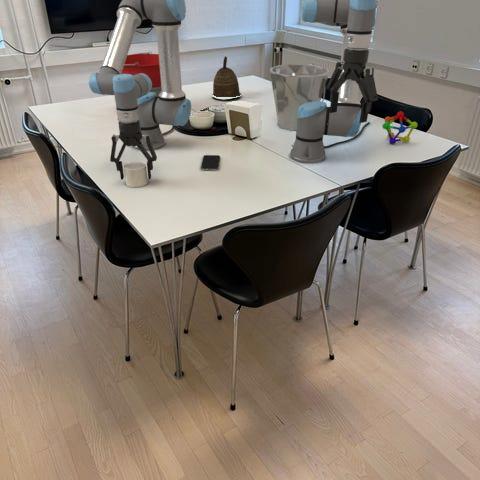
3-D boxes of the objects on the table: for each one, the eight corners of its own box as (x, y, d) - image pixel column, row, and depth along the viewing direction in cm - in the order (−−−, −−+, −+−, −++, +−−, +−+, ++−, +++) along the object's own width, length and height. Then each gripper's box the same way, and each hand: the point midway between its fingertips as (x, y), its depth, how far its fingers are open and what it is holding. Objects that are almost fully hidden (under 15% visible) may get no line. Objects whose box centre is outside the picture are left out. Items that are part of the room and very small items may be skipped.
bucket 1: (125, 104, 265) (117, 50, 249) (183, 105, 264) (179, 51, 248) (108, 122, 236) (99, 62, 220) (174, 123, 235) (169, 63, 219)
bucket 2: (296, 138, 215) (301, 78, 201) (255, 124, 234) (256, 68, 219) (335, 125, 232) (342, 70, 217) (294, 113, 251) (297, 61, 236)
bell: (227, 105, 294) (202, 96, 282) (238, 66, 289) (213, 55, 277) (243, 108, 280) (217, 98, 268) (255, 66, 275) (229, 55, 263)
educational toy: (377, 146, 209) (379, 114, 202) (384, 138, 219) (386, 107, 211) (411, 149, 202) (415, 116, 195) (417, 141, 212) (420, 109, 204)
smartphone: (200, 168, 181) (203, 155, 194) (200, 170, 182) (203, 156, 194) (218, 168, 181) (220, 155, 194) (218, 170, 182) (220, 156, 194)
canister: (134, 189, 166) (132, 171, 163) (121, 183, 171) (119, 166, 167) (151, 182, 171) (150, 165, 168) (138, 176, 176) (136, 160, 172)
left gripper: (94, 124, 154) (104, 182, 166) (159, 123, 156) (164, 181, 168) (99, 117, 161) (108, 174, 173) (161, 117, 162) (166, 173, 174)
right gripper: (320, 44, 143) (313, 109, 154) (380, 55, 126) (368, 128, 137) (336, 42, 147) (329, 106, 158) (397, 53, 129) (384, 124, 141)
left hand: (136, 178), depth 170 cm, fingers open, 10 cm apart
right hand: (347, 117), depth 148 cm, fingers open, 13 cm apart
